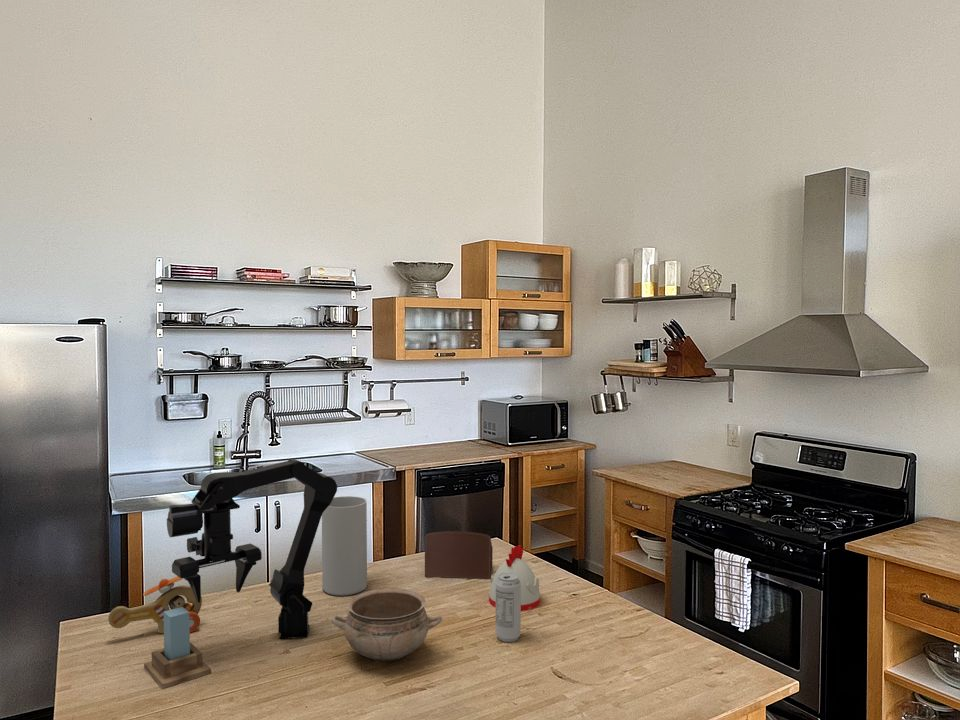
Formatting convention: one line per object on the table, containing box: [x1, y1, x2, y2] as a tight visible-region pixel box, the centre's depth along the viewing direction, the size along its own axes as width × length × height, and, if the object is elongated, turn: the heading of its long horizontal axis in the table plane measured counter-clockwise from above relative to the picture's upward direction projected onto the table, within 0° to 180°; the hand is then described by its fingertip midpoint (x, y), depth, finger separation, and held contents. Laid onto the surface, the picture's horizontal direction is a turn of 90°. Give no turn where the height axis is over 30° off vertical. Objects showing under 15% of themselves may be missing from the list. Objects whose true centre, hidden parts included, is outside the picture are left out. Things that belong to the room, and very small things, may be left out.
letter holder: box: [424, 530, 494, 580], centre depth 216 cm, size 10×20×14 cm, turn 86°
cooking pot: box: [331, 588, 443, 663], centre depth 162 cm, size 25×19×12 cm
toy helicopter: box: [107, 575, 203, 634], centre depth 174 cm, size 8×21×14 cm, turn 122°
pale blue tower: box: [163, 607, 191, 661], centre depth 155 cm, size 4×4×12 cm
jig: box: [143, 641, 212, 690], centre depth 155 cm, size 10×12×4 cm
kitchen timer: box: [488, 544, 541, 612], centre depth 194 cm, size 14×14×15 cm
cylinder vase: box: [321, 495, 368, 597], centre depth 203 cm, size 12×12×25 cm
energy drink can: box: [495, 573, 522, 643], centre depth 172 cm, size 6×6×15 cm
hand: (218, 596), depth 163 cm, fingers open, 9 cm apart
